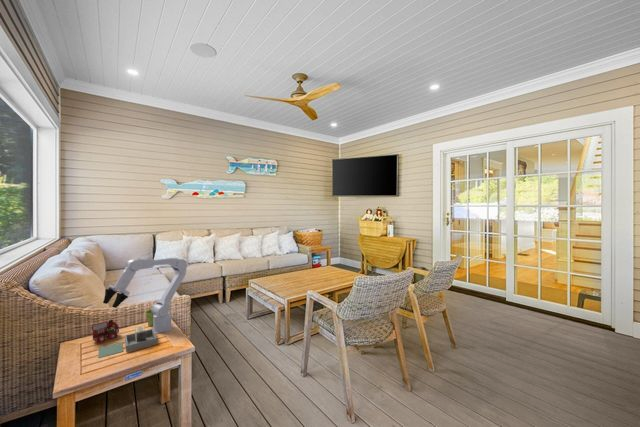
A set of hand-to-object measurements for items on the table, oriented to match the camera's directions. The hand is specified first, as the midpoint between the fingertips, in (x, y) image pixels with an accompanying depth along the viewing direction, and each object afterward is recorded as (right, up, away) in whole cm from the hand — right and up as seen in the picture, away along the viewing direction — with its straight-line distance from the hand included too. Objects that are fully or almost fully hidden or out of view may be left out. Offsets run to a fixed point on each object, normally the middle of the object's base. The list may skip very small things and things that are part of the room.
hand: (109, 305), depth 146 cm
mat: (+2, -23, -2) cm, 23 cm away
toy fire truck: (-9, -23, +10) cm, 27 cm away
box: (+13, -22, +6) cm, 26 cm away
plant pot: (+6, -22, +29) cm, 37 cm away
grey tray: (+13, -23, +6) cm, 26 cm away
